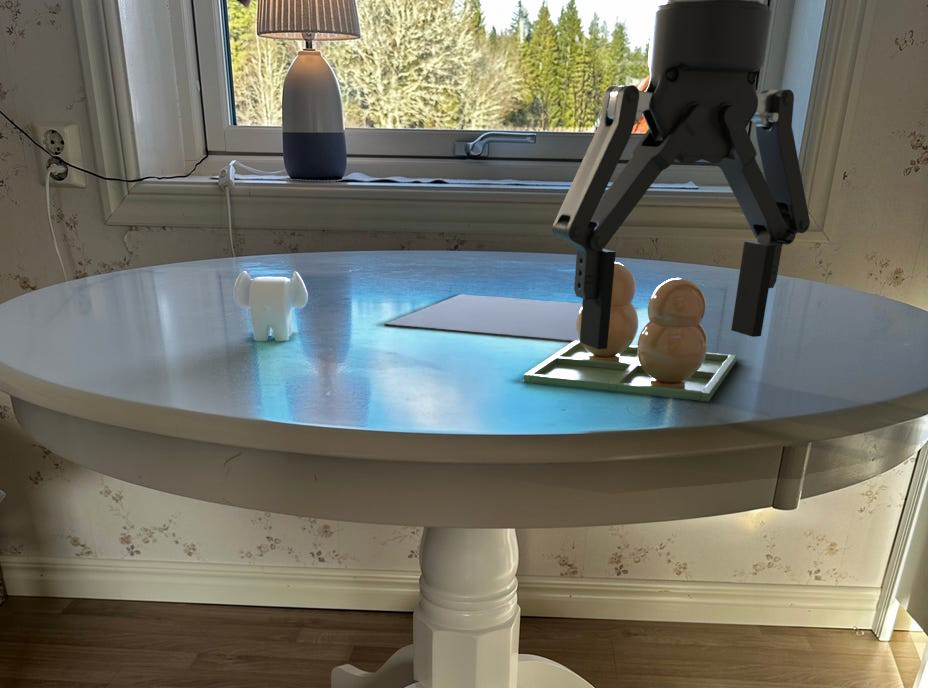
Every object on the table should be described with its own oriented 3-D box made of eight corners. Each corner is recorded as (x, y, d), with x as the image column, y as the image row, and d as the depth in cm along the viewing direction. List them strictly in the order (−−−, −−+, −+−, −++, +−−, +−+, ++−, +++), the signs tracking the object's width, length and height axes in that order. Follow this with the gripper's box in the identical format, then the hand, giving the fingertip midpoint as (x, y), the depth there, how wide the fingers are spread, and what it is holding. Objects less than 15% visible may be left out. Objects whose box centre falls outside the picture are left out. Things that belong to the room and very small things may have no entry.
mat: (631, 311, 103) (631, 306, 103) (580, 346, 87) (581, 341, 87) (460, 298, 110) (460, 294, 110) (384, 329, 94) (384, 323, 94)
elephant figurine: (314, 331, 93) (310, 266, 90) (306, 348, 86) (301, 278, 83) (244, 331, 92) (238, 266, 90) (230, 348, 85) (223, 278, 83)
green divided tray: (735, 365, 81) (736, 354, 81) (707, 406, 69) (709, 393, 69) (573, 350, 86) (574, 340, 85) (522, 386, 74) (523, 374, 74)
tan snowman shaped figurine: (707, 380, 75) (721, 275, 71) (695, 395, 71) (710, 285, 67) (641, 373, 77) (652, 271, 73) (626, 388, 72) (637, 280, 69)
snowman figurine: (640, 355, 83) (650, 260, 79) (626, 367, 78) (636, 267, 75) (582, 349, 84) (589, 256, 81) (565, 361, 80) (572, 263, 76)
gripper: (824, 15, 69) (773, 320, 79) (513, -3, 61) (501, 340, 71) (904, 6, 63) (837, 337, 73) (570, -16, 54) (547, 361, 65)
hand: (671, 339), depth 72 cm, fingers open, 13 cm apart
